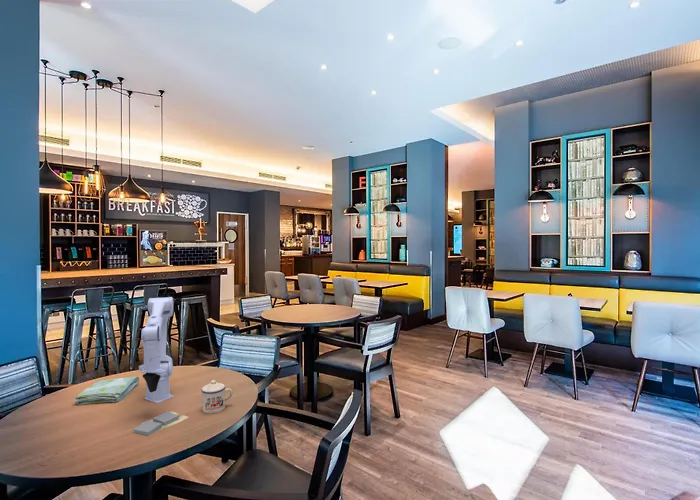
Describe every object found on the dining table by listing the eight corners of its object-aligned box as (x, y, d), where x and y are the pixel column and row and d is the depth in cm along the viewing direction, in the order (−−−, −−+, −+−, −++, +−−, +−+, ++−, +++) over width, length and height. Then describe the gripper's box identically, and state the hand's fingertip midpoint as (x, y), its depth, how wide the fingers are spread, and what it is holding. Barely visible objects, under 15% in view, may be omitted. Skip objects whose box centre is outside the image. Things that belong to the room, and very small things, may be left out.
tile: (152, 418, 140) (164, 422, 137) (167, 411, 145) (178, 415, 142) (152, 421, 140) (164, 426, 137) (167, 415, 145) (178, 419, 142)
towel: (72, 406, 155) (72, 394, 155) (99, 387, 176) (99, 376, 176) (119, 403, 158) (119, 392, 158) (140, 384, 179) (140, 374, 179)
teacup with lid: (203, 416, 145) (202, 386, 144) (200, 407, 153) (200, 379, 153) (234, 409, 150) (234, 381, 150) (230, 401, 158) (230, 374, 158)
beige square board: (140, 424, 139) (140, 423, 139) (169, 411, 149) (169, 410, 149) (160, 432, 133) (160, 431, 133) (189, 418, 143) (189, 417, 143)
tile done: (133, 433, 132) (133, 429, 132) (147, 424, 138) (147, 420, 138) (148, 436, 130) (148, 432, 130) (162, 427, 136) (162, 423, 136)
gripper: (131, 356, 145) (131, 391, 145) (153, 362, 138) (154, 398, 138) (148, 352, 151) (149, 385, 151) (170, 357, 144) (171, 391, 144)
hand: (152, 391), depth 145 cm, fingers closed
